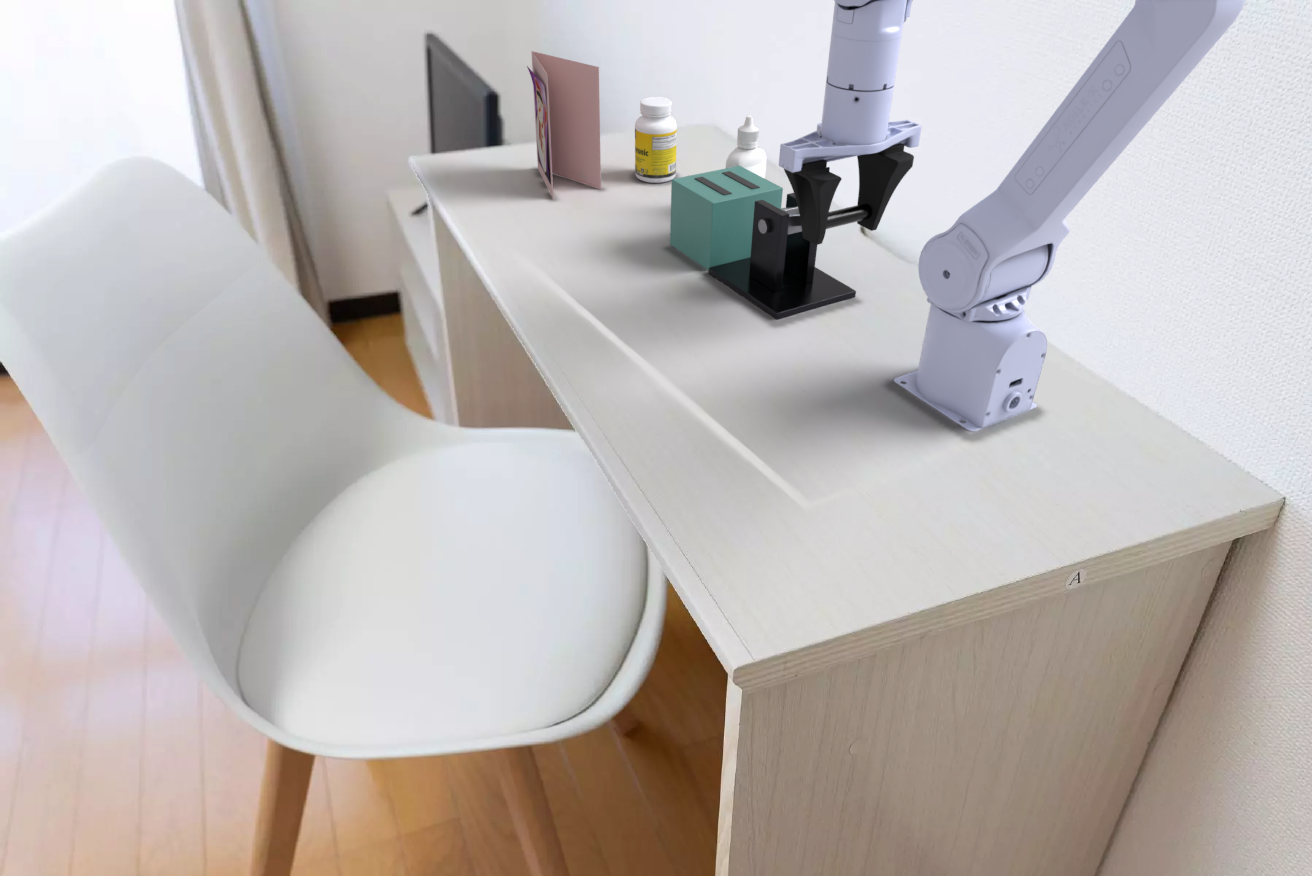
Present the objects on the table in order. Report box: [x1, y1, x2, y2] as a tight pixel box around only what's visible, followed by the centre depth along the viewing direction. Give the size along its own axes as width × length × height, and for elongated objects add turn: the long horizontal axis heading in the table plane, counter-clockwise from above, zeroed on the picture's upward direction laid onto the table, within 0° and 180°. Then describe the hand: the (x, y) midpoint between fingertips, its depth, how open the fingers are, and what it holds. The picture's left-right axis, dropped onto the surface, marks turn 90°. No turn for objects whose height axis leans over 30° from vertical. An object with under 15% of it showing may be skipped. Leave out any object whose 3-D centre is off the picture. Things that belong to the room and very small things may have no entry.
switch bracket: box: [707, 192, 857, 321], centre depth 98 cm, size 12×10×9 cm
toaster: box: [669, 166, 784, 271], centre depth 105 cm, size 8×9×8 cm
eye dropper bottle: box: [725, 115, 767, 179], centre depth 113 cm, size 4×6×12 cm
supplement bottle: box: [634, 96, 678, 184], centre depth 125 cm, size 5×5×10 cm
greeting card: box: [526, 50, 602, 199], centre depth 121 cm, size 11×7×15 cm, turn 15°
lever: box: [781, 203, 872, 235], centre depth 93 cm, size 11×6×2 cm, turn 31°
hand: (840, 233), depth 90 cm, fingers closed on lever, 6 cm apart
